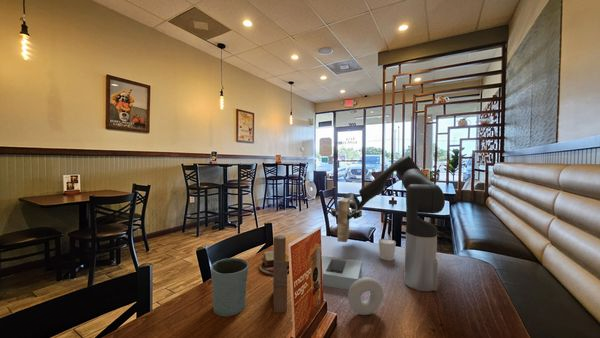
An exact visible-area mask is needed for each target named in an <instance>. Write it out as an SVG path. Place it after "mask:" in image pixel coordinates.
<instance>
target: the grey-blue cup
mask: <svg viewBox="0 0 600 338" xmlns="http://www.w3.org/2000/svg"><path fill="white" fill-rule="evenodd" d="M210 274H211V275H210V277H211V285H212V287H211V288H212V290H211V291H212V309H213V312H214V314H216V315H217V316H220V317H231V316H234V315H238V314H240V313H241V312H242V311H243V310H244V308H245V307H246V299H247V286H248V285H247V284H248V283H247V281H248V274H249V261H247V260H245V259H243V258H239V257H238V258H237V257H229V258H223V259H220V260H217V261H215V262H213V263H212V264H211V266H210Z"/></svg>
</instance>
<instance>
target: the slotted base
mask: <svg viewBox="0 0 600 338" xmlns="http://www.w3.org/2000/svg"><path fill="white" fill-rule="evenodd" d="M321 256H322V266H323V285H324V286H323V287H328V288H334V289H339V290H345V291H349V289H350V287H351V286H352V284H353V283H354V282H355V281H357V280H358V279H360V278H362V277H361V276H362V268H363V267H362V266H363V265H362V264H363V261H362V260H357V259H350V258H348V259H347V258H343V257H335V256H328V255H321ZM332 271H338V272H342V273H338V272H332Z"/></svg>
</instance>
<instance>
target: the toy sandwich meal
mask: <svg viewBox="0 0 600 338" xmlns="http://www.w3.org/2000/svg"><path fill="white" fill-rule="evenodd" d="M288 258H289V255H288V254H287V253H286V261H287V273H288V272H290V271H289V261H288ZM261 261H262V262H261V263H260V264H259V267H258V268H259V270H260V271H261V272H263V274H266V275H270V276H273V272H274V249H273V250H267V251H263V256H262V257H261Z"/></svg>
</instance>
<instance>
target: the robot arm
mask: <svg viewBox="0 0 600 338" xmlns="http://www.w3.org/2000/svg"><path fill="white" fill-rule="evenodd" d="M394 172H396V174H398V176H399V177H400V178H401V183H402V186H403V187H404V189H405V208H406V209H405V210H406V211H405V212H406V215H405V216H406V217H405V218H406V219H405V220H406V221H405V225H406V226H405V247H404V248H405V250H404V251H405V254H404V283H405V285H406V286H408V287H409V288H410V289H413V290H416V291H420V292H432V291H434V292H436V291H437V289H438V269H439V267H438V265H439V263H438V260H437V252H438V251H437V247H438V226H436V225H435V224H434V223H431V222H429V221H427V220H423V219H422V218H420V217H419V216H418V213H420V214H439V213H441V212H442V211H443V209H444V208H445V205H446V203H445V202H446V197H445V194H444V191H443V190H442V189H441V187H440V186H439V185H437V183H435V182H433V181H431V180H430V179H429V177H427V175H426V174H425V173H424V171H422V170H421V169H420V168H419V166H418V165H417V164H416V163H415V161H414V160H413V158H412V157H411V156H409V155H404V156H402V157H400V158H398V159H397V160H395V161H394V162H393V163H392V164H391V165H389V167H387V168H386V169H385V170H384V171H382V172H381V173H380V174H379V175H378V176H377V177H376V178H374V179H373V180H371V182H369V183H367V184H366V185H365V186H363V187H362V188H360V190H359V191H358V193H359V195H360V198H361V200H360V199H359V198H358V197H357V196H356V193H353V192H349V193H346V194H345V195H344V196H343V198H350V208H349V213H348V214H347V220H349V221H350V220H351V219H358V218H362V216H363V210H362V208H363V207H364V206H365V205H366V204H367V203H368V202H369V201H370V200H372V199H373V198H375V197H376V196H378V195H380V193H382V191H383V189H384V188H385V186H386V184H387V181H388V179H389V178H390V176H391V175H392V174H394ZM330 215H331V216H332V217H333V218H335V219H336V220H338V208H337V209H336V208H333V207H331V208H330Z"/></svg>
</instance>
